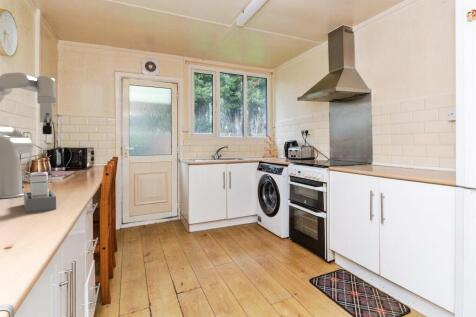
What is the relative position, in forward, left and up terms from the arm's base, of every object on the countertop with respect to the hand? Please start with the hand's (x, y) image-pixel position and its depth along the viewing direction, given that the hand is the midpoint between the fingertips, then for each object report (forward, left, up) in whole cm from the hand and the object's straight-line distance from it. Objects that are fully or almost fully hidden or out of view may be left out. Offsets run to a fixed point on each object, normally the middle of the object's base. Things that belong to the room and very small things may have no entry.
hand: (47, 134), depth 131 cm
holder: (+11, -21, -33) cm, 41 cm away
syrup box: (+14, -25, -32) cm, 43 cm away
